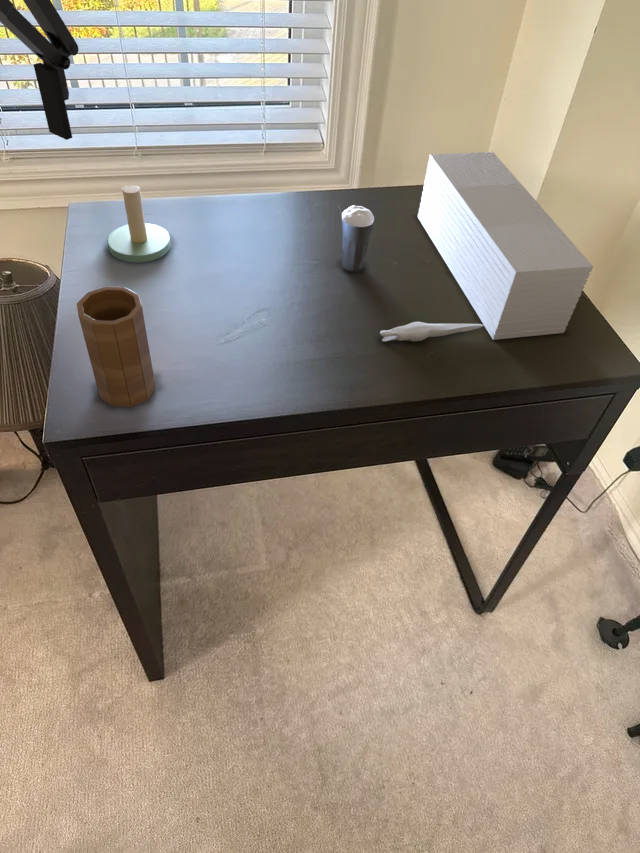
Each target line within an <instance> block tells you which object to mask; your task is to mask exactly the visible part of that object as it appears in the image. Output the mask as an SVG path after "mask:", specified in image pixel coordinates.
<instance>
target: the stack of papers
mask: <svg viewBox="0 0 640 853" xmlns="http://www.w3.org/2000/svg"><path fill="white" fill-rule="evenodd" d="M423 182H424V184H423V187H422V189H423V190H422V192H421V197H420V203H419V208H418V212H417V219H418V220H419V222H420V224H421V225H422V227H423V229H424V230H425V232H426V233H427V235H428V237H429V238H430V240H431V241H432V243H433V245H434V247H435V248H436V250H437V251H438V253H439V255H440V256H441V258H442V260H443V261H444V263H445V264H446V266H447V267H448V270H449V271H450V272H451V274H452V276H453V278H454V279H455V282H457V284H458V285H459V287H460V289H461V291H462V292H463V294H464V296H465V297H466V298H467V300H468V302H469V303H470V305H471V306H472V308H473V310H474V311H475V313H476V315H477V316H478V318H479V320H480V321H481V323H482V324H483V325H484V326H483V327H484V328H485V330H486V331H487V332H488V334H489V336H490V338H491V339H492V340H493V341H495V340H505V339H514V338H515V339H516V338H524V337H534V336H535V337H536V336H545V335H546V336H547V335H555V334H564V333H565V331H566V329H567V327H568V325H569V322H570V320H571V318H572V316H573V313H574V310H575V309H576V308H577V304H578V302H579V300H580V298H581V296H582V292H583V291H584V289H585V286H586V284H587V283H588V279H589V278H590V275H591V273H592V271H593V269H594V266H593V264H592V263H591V262H590V261H589V260H588V259H587V257H586V256H585V255H584V254H583V253H582V252H581V250H580V249H579V248H578V247H577V246H576V245H575V243H574V242H573V241H572V240H571V239H570V237H569V236H568V235H566V233H565V232H564V231H563V230H562V228H560V227H559V225H558V224H557V223H556V222H555V221H554V219H552V217H551V216H550V214H548V213H547V212H546V210H545V209H544V208H543V207H542V206H541V204H539V202H538V201H537V200H536V199H535V198H534V197H533V196H532V195H531V193H530V192H529V191H528V190H527V188H525V187H524V185H523V184H522V183H521V182H520V180H518V179H517V177H516V176H515V175H514V174H513V173H512V171H511V170H510V169H509V168H508V167H507V165H505V164H504V162H503V161H502V160H501V159H500V158H499V157H498V155H497V154H496V153H495V151H482V152H481V151H480V152H451V153H430V154H429V156H428V161H427V167H426V173H425V178H424V181H423Z"/></svg>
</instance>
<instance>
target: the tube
mask: <svg viewBox="0 0 640 853" xmlns="http://www.w3.org/2000/svg"><path fill="white" fill-rule="evenodd" d="M76 309H77V316H78V319H79V324H80V327H81V330H82V335H83V338H84V342H85V346H86V349H87V353H88V357H89V362H90V365H91V369H92V372H93V373H92V374H93V376H94V381H95V385H96V388H97V392H98V396H99V399H100V400H102V401H104V402H105V403H107V404H108V405H110V406H111V407H120V408H121V407H122V408H123V407H124V408H132V407H134V406H136V405H139V404H143V403H144V402H146V401H148V400H149V399H150V397H151V396H152V394H153V393H154V392H155V391H156V388H157V387H156V381H155V375H154V370H153V369H154V368H153V363H152V358H151V351H150V345H149V339H148V334H147V329H146V323H145V316H144V310H143V304H142V301H141V297H140V295H139V294H138V293H136V292H134V291H132V290H131V289H129V288H127V287H124V286H123V287H122V286H103V287H100V288H97V289H93V290H91V291H88V292H85V294H84V296H82V298H80V300H78V302H77V303H76Z"/></svg>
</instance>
